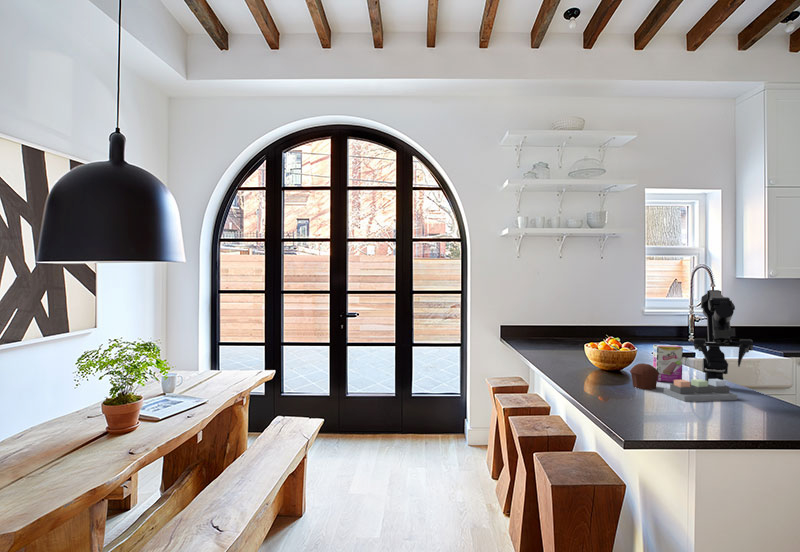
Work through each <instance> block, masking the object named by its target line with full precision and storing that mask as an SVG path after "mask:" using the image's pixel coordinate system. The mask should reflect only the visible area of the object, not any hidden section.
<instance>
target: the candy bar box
mask: <svg viewBox="0 0 800 552" xmlns="http://www.w3.org/2000/svg"><path fill="white" fill-rule="evenodd" d="M683 355H684V354H683V346H682V345H681V346H680V345H677V344H653V345H652V366H653V367H654V368H656V370H657V371H658V372H659V375H658V378H657V382H658V383H659V382H661V383H674V380H683Z"/></svg>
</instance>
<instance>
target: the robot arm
mask: <svg viewBox="0 0 800 552" xmlns="http://www.w3.org/2000/svg"><path fill="white" fill-rule="evenodd" d="M700 309H702V314H703V315H704V316H705V318H706V323H707V326H706V327H707V341H706V338H704V337H703V338H700V337H698V338H694V339H693V347H694V349H695V350H698V352H701V353H702V355H704V358H702V364H701V365H702V366H701V371H702V373H705V374H704V375H705V376H704V377H705V379H704V380H705V381H708V379H720V380H724V375H728V370H729V363H728V362H727V361H728V360H727V359H726V355H725V353H724V351H722V350H721V347H725V348H727V347H729V348H738V359H737V367H738V368H739V367H741V364H742V360H743V358H744V357H745V355H746V353H750V352H751V351H754V342H753V340H752V339H751V338H739V341H732V337H736V328H735V327H731V320H732V318H733V315H734V311H735V310H736V306H735V304H734V302H733V301H732V300H731V299H730V297H728V296H723V295H722V290H720V289H709V290H706V293H705V294H704V295H702V296H701V298H700Z"/></svg>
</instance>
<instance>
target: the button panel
mask: <svg viewBox="0 0 800 552" xmlns="http://www.w3.org/2000/svg"><path fill="white" fill-rule="evenodd" d="M669 386H670V387H669V388H663V394H664V395H666V396H669V397H671V398H675V399H677V400H679V401H682V402H708V401H709V402H710V401H712V402H713V401H717V402H718V401H737V400H738V394H737V393H733V392H730V386H729V385H726V384H725V386H713V385H709V384H708V387H697V386H694V385H691V383H690V387H678V386H675V385H674V383H671V384H669Z"/></svg>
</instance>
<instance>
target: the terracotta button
mask: <svg viewBox="0 0 800 552" xmlns="http://www.w3.org/2000/svg"><path fill="white" fill-rule="evenodd" d="M673 384H674V385H675V386H678V387H690V384H691V381H689V380H685V379H682V380H674V382H673Z"/></svg>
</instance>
